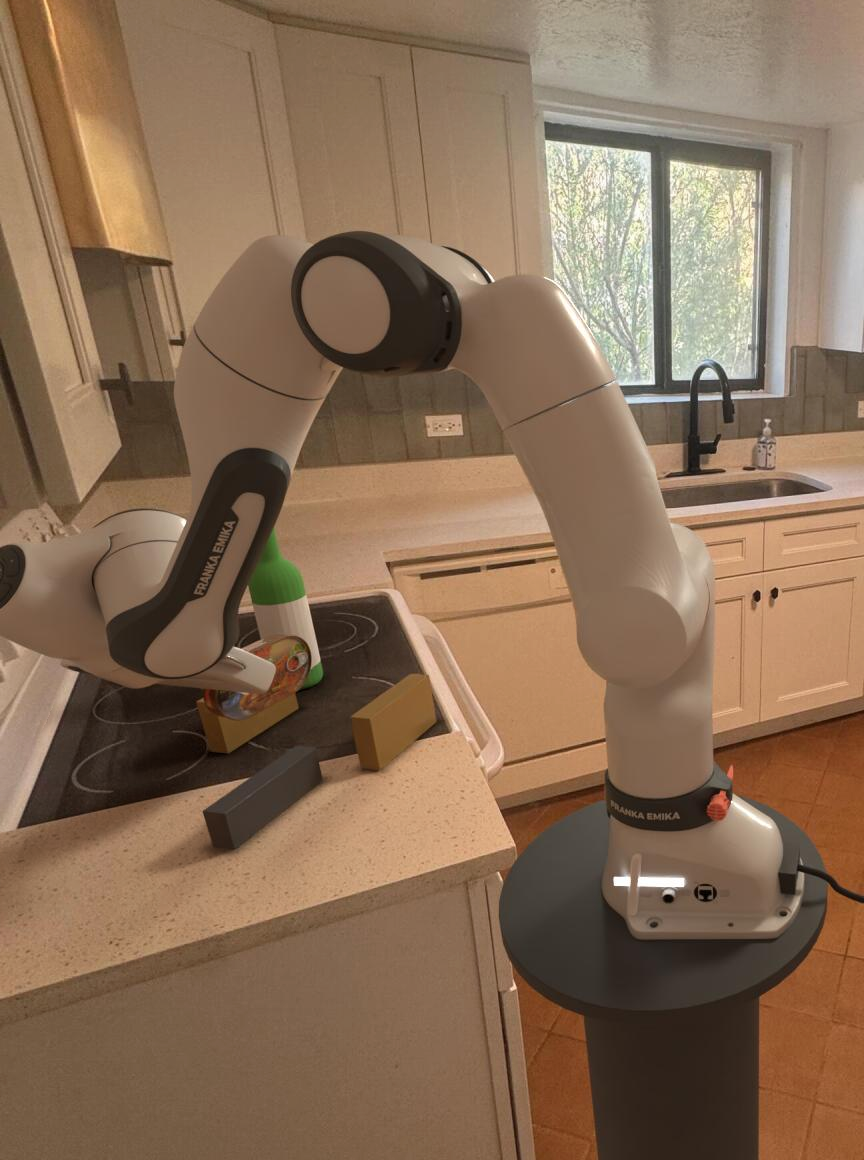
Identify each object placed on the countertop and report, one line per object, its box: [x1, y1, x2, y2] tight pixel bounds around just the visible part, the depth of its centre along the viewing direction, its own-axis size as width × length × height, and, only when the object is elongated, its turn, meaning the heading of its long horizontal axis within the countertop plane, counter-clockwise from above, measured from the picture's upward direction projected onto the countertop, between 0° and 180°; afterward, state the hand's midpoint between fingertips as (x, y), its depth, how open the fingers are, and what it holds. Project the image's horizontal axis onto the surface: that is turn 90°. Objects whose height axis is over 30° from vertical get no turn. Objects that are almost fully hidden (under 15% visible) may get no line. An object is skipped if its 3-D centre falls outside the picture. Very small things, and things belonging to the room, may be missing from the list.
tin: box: [201, 634, 312, 721], centre depth 101 cm, size 15×3×8 cm, turn 166°
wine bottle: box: [247, 527, 324, 691], centre depth 127 cm, size 8×8×30 cm
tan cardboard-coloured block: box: [195, 693, 299, 754], centre depth 116 cm, size 3×14×8 cm, turn 169°
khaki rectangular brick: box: [349, 672, 437, 771], centre depth 112 cm, size 3×14×8 cm, turn 169°
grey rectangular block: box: [202, 745, 324, 851], centre depth 97 cm, size 3×15×5 cm, turn 169°
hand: (231, 687), depth 97 cm, fingers closed on tin, 2 cm apart
